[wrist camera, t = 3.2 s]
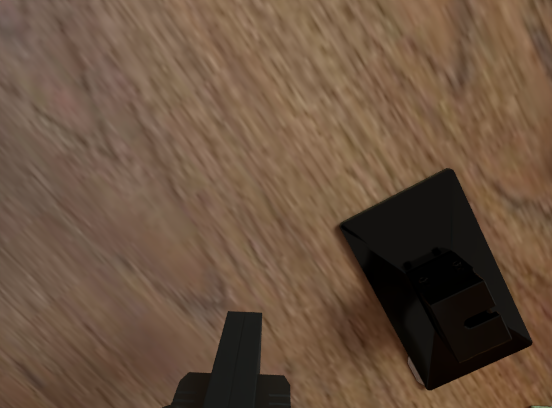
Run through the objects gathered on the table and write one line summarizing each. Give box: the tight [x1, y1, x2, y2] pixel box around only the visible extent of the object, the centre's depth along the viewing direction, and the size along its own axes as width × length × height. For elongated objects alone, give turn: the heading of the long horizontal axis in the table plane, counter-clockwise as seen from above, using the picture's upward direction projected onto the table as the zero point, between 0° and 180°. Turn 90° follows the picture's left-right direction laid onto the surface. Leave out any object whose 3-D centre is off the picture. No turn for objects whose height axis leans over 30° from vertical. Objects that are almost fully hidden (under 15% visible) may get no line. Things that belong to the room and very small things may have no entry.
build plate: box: [340, 168, 532, 390], centre depth 22 cm, size 12×7×5 cm, turn 29°
